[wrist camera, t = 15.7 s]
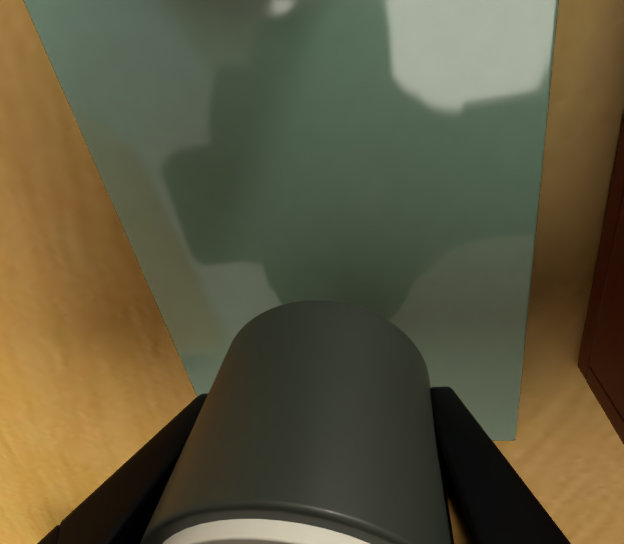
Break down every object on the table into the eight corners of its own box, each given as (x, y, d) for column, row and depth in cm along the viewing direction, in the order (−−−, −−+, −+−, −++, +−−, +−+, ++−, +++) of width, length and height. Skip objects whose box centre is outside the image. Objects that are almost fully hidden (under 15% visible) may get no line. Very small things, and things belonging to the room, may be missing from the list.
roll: (433, 447, 10) (469, 717, 6) (254, 447, 11) (186, 681, 7) (425, 289, 8) (473, 556, 4) (200, 306, 9) (58, 534, 5)
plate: (505, 410, 14) (516, 441, 13) (226, 415, 16) (216, 442, 15) (613, -997, 4) (694, -1345, 3) (-149, -518, 6) (-256, -627, 5)
